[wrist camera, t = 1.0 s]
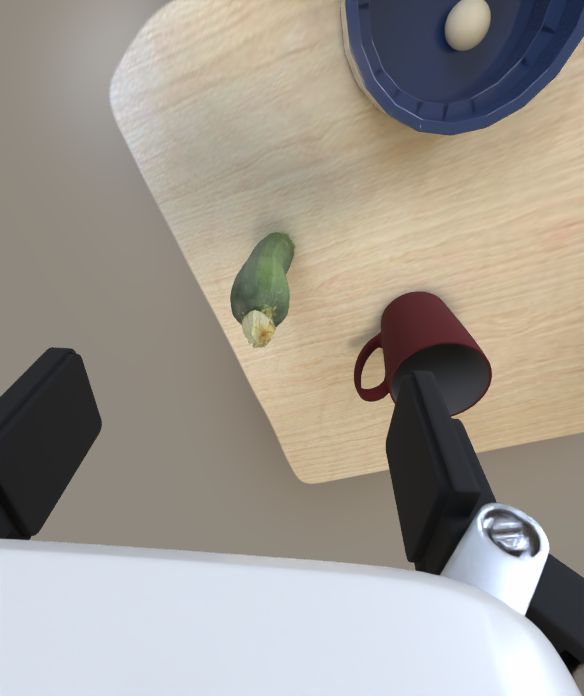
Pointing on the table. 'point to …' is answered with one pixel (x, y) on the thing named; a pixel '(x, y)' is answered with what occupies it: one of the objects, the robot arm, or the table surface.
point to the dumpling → (467, 24)
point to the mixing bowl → (456, 59)
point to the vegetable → (263, 289)
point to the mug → (427, 352)
